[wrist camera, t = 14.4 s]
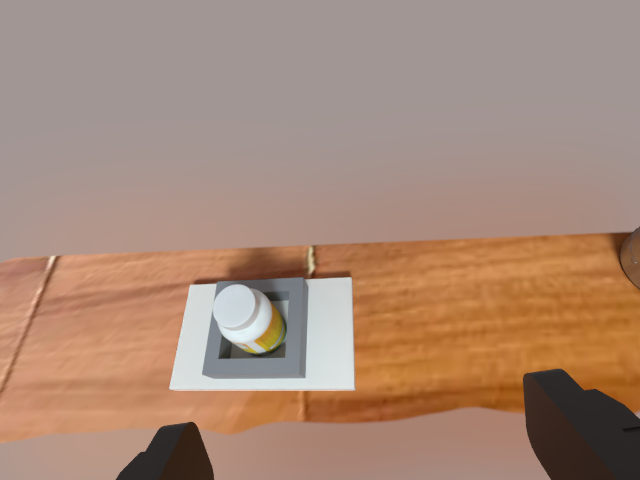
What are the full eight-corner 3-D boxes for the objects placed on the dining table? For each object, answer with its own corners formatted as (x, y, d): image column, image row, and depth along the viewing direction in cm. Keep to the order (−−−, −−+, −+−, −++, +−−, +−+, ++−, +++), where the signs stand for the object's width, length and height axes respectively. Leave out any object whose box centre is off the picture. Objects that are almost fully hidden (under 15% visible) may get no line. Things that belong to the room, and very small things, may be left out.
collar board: (352, 282, 43) (348, 266, 39) (355, 390, 37) (351, 384, 34) (195, 289, 46) (178, 275, 42) (176, 390, 40) (153, 385, 37)
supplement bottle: (244, 363, 39) (205, 342, 31) (239, 316, 42) (202, 285, 34) (292, 350, 39) (266, 326, 31) (284, 304, 42) (258, 270, 33)
